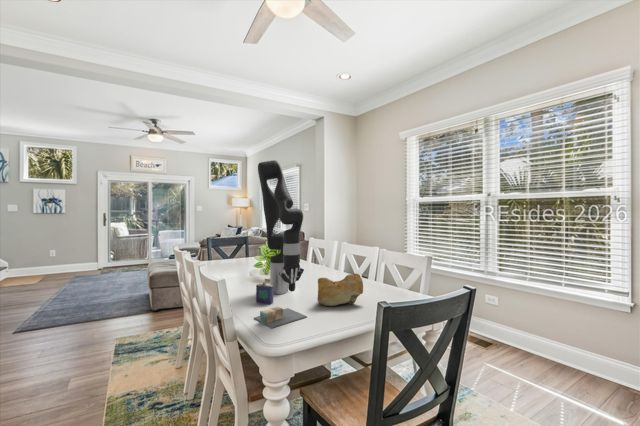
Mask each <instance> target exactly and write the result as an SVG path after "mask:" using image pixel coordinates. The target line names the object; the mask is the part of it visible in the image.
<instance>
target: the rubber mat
mask: <svg viewBox="0 0 640 426" xmlns="http://www.w3.org/2000/svg"><path fill="white" fill-rule="evenodd" d="M253 318H254V320H255V321H257V322H259V323H261V324H263V325H265V326H267V327H268V328H270V329H274V328H278V327H281V326H284V325H288V324H290V323H293V322H296V321H301V320H303V319H306V318H308V316H307V315H305V314H302V313H300V312H298V311H295V310H293V309H291V308H289V307H287V308H283V318H281V319H278V320H275V321H271V322H268V323H264V322H262V321H260V315H258V316H254V317H253Z"/></svg>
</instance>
